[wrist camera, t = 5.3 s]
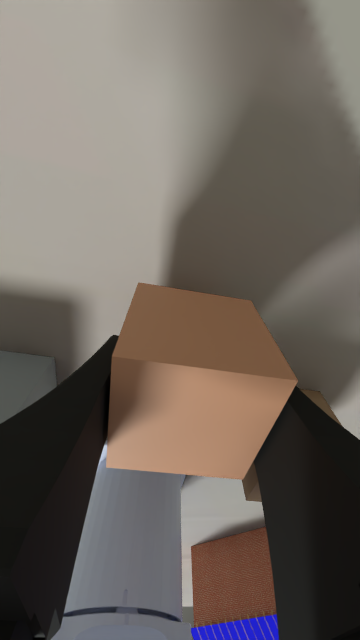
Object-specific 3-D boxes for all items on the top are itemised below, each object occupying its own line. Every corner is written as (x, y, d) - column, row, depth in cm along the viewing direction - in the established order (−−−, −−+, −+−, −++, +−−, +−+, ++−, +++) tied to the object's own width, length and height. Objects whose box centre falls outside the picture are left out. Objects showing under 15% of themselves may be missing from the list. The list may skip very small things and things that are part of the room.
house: (187, 543, 31) (192, 723, 21) (353, 499, 26) (468, 710, 16) (230, 572, 36) (251, 726, 26) (376, 540, 31) (472, 717, 21)
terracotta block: (221, 382, 14) (242, 479, 9) (129, 370, 13) (106, 467, 9) (251, 300, 11) (298, 380, 7) (138, 282, 11) (112, 356, 6)
